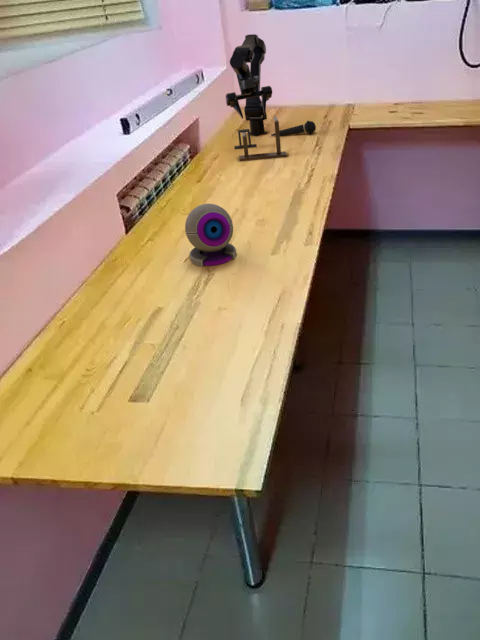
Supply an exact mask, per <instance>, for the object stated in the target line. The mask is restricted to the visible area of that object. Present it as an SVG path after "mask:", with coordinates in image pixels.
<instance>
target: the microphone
mask: <svg viewBox="0 0 480 640" xmlns="http://www.w3.org/2000/svg"><path fill="white" fill-rule="evenodd" d="M316 127H317V126H316V123H315V122H314V121H312V120H307V121H306V122H305V123H304V124H300V125H296V126H292V127H287V128H284V129H281V130H280V129H279V132H280V137H283V136H290V135H299V134H305V133H306V134H309V135H312V134H313V133H315V132H316V129H317V128H316ZM270 136H272V137H274V136H275V132H274V133H271V134H270ZM275 137H276V136H275Z"/></svg>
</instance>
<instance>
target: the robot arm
mask: <svg viewBox="0 0 480 640" xmlns="http://www.w3.org/2000/svg"><path fill="white" fill-rule="evenodd" d="M266 54H267V46H266V43H265V41H264V40H263V39H262V38H260V37H259V36H258V34H255V33H253V34H246V35H245V38H244V40H243V42H242V44H241V45H238V46H236V47H234V50H233V52H232V54H231V57H230V58H229V65H230V67H231V69H232V70H233V72H234V73H235V75H236V79H237V83H238V87H239V92H240V94H237V93H236V92H229V93H226V94H225V104H226V106H227V107H230V108H233V109H234V110H235V111H236V113H237V114H238V115H239V117H240V118H241V119H244V118H245V121H246V122H248V121H249V129H250V136H255V137H258V136H261V135H265V134H267V133H268V131H265V123H264V121H265V120H267V119H268V116H267V101H268V102H269V100H270V99H271V98H272V96H273V89H272V86H270V85H266V86H261V69H262V68H261V67H262V64H263V63H264V61H265V58H266ZM249 63H250V64H249ZM248 64H249V65H248ZM241 100H245V106H244V109H243V110H244V112H242V108H241V106H240V102H239V101H241ZM243 114H244V115H243Z"/></svg>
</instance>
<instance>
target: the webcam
mask: <svg viewBox="0 0 480 640" xmlns="http://www.w3.org/2000/svg"><path fill="white" fill-rule="evenodd" d="M184 224H185V225H184V232H185V236H186V238H187V239H188V241H189V243H190V244H191V245H192V247H194V248H192V249H191V250H190V252H189V260H190V262H191V263H192V264H193V265H195V266H198V267H204V266H208V267H211V266H219V265H223V264H225V263H228V262H229V261H231V260H235V259H236V258H237V255H238V254H237V249H236V247H235V246H234V244H232V243H230V242H231V240H232V238H233V234H234V224H233V220H232V217H231V215H230V213H229V212H228V211H227V210H225V209H224V208H223V207H221V205H218V204H214V203H203V204H199V205H197V206H196V207H194V208H193V209H191V211H190V212H189V213H188V215H187V217H186V219H185V223H184Z"/></svg>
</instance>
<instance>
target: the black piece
mask: <svg viewBox="0 0 480 640" xmlns="http://www.w3.org/2000/svg"><path fill="white" fill-rule="evenodd" d="M242 132H245V133H247V141H248V144H247V145H248V149H253V148H255V149H256V148H257V147H258V145H257V143H252V140H251V134H250V128H245V129H238V130H237V135H238V143H239V145H234V146H233V148H234V150H244V146H243V143H242V134H243V133H242ZM241 133H242V134H241Z"/></svg>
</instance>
